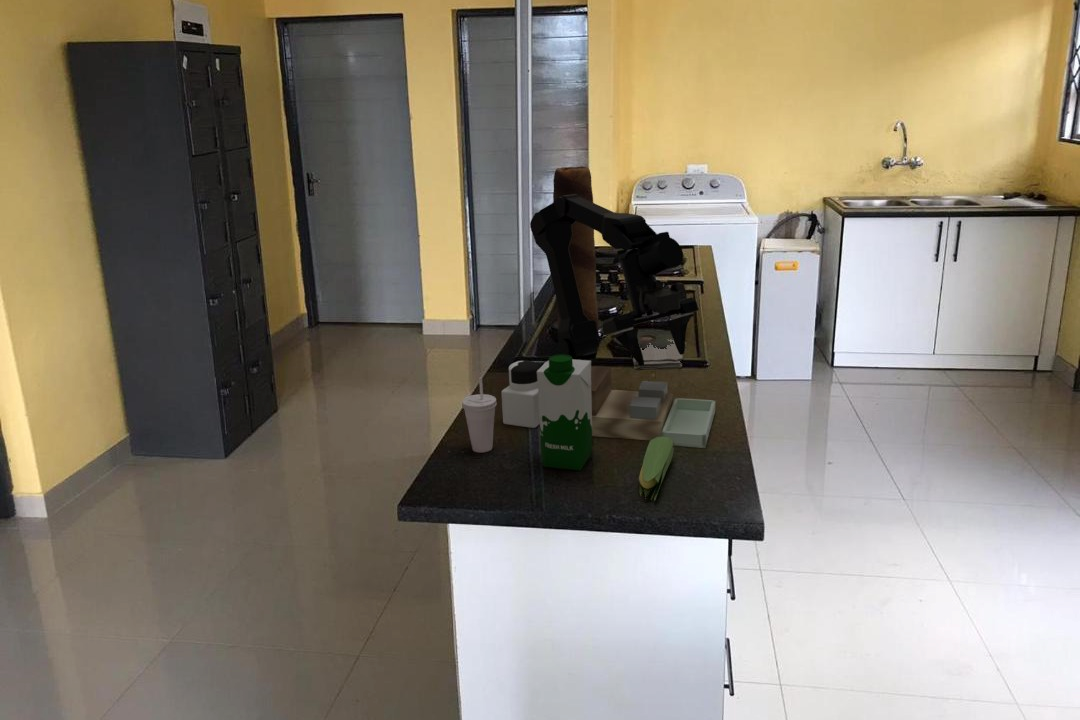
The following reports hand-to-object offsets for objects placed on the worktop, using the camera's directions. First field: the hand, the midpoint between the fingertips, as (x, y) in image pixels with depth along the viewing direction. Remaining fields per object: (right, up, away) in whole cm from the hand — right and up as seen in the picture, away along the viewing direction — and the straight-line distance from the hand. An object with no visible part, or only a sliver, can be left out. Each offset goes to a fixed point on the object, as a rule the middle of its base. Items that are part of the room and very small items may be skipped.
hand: (662, 359), depth 165 cm
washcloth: (+5, 0, +44) cm, 45 cm away
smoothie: (-34, -17, -3) cm, 38 cm away
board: (-7, -12, +6) cm, 15 cm away
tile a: (-1, -7, +7) cm, 11 cm away
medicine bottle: (-26, -12, +10) cm, 30 cm away
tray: (+6, -13, +2) cm, 14 cm away
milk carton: (-18, -18, -10) cm, 28 cm away
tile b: (-3, -10, -1) cm, 11 cm away
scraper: (-13, -8, +6) cm, 16 cm away
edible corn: (-4, -20, -18) cm, 27 cm away
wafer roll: (-14, +2, +53) cm, 54 cm away
